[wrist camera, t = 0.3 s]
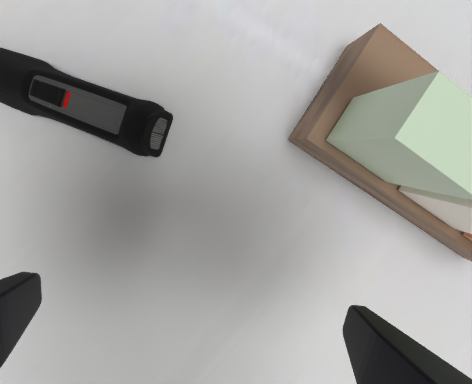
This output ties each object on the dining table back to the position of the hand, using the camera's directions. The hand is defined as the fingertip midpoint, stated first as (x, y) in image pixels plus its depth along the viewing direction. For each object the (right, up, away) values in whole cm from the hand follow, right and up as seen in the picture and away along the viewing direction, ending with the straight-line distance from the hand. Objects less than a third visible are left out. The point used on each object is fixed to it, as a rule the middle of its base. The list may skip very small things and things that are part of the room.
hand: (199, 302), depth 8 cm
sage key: (+10, +6, +10) cm, 15 cm away
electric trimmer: (-11, +10, +12) cm, 19 cm away
